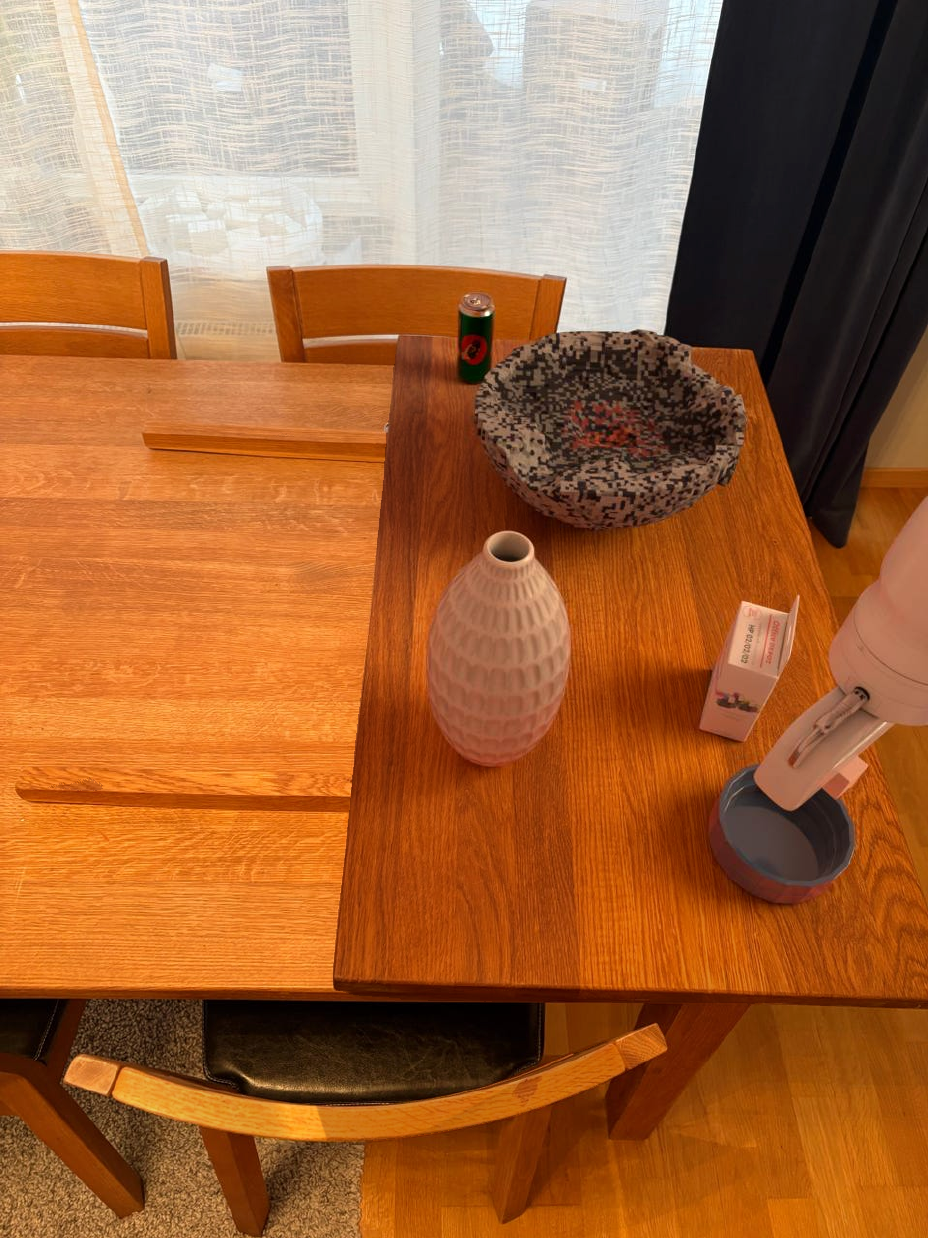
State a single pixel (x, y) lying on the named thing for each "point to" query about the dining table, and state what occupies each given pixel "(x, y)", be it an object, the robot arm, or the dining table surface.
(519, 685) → the vase
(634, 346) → the bowl
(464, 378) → the soda can
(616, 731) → the dining table surface
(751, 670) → the ink box
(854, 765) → the eraser
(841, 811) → the blue bowl
